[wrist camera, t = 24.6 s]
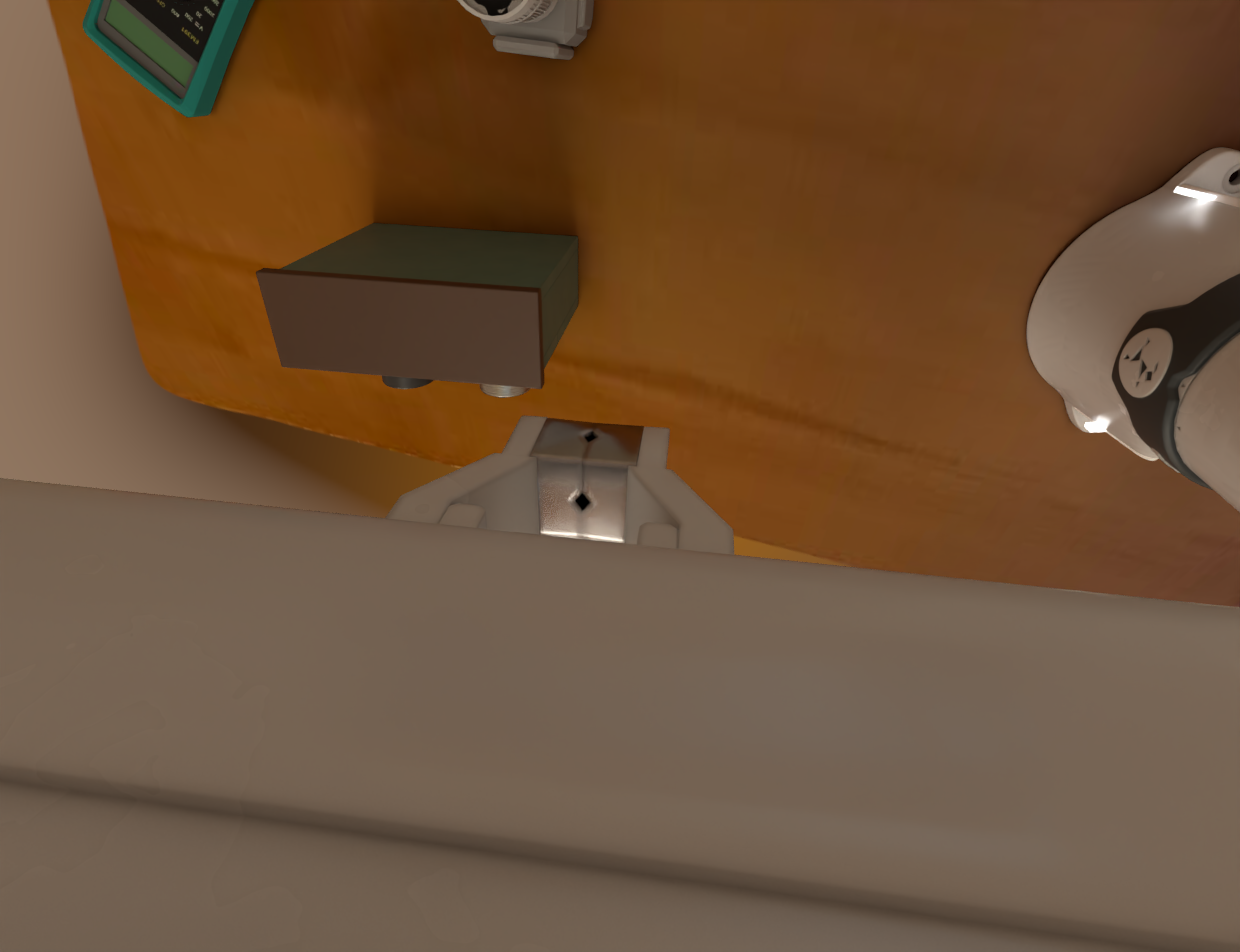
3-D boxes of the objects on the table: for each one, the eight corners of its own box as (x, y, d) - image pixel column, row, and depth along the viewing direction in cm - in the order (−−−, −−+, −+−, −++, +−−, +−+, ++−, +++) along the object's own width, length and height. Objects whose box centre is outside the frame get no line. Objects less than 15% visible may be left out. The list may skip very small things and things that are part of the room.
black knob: (443, 372, 47) (425, 393, 44) (395, 368, 47) (374, 389, 44) (433, 298, 44) (413, 315, 41) (383, 294, 44) (359, 311, 41)
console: (582, 310, 48) (541, 389, 36) (381, 295, 49) (281, 367, 38) (582, 232, 45) (538, 292, 33) (368, 218, 46) (254, 271, 34)
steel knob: (537, 380, 46) (525, 402, 43) (488, 376, 46) (473, 397, 44) (534, 305, 43) (521, 324, 40) (482, 301, 43) (465, 319, 40)
